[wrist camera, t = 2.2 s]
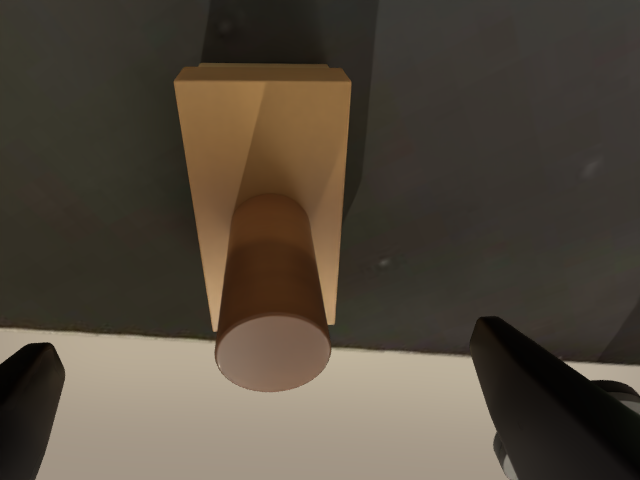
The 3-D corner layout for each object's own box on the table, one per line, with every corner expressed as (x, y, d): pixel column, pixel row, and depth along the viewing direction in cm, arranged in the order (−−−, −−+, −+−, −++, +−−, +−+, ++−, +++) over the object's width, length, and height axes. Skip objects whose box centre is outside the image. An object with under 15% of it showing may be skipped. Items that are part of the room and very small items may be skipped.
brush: (324, 271, 18) (361, 459, 11) (220, 276, 17) (192, 475, 11) (334, 56, 13) (408, 158, 6) (191, 55, 13) (110, 163, 6)
